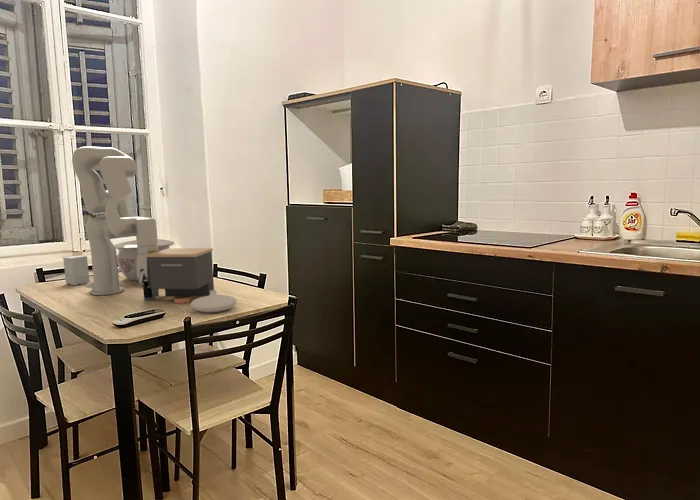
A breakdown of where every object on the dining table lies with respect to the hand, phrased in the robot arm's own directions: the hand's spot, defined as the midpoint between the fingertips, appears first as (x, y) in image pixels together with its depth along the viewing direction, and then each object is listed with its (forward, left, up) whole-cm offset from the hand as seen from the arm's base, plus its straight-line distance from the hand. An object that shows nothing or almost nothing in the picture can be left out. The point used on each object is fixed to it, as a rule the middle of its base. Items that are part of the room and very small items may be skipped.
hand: (151, 295), depth 195 cm
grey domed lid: (+32, -15, -2) cm, 35 cm away
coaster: (+15, -4, -2) cm, 16 cm away
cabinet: (+14, -1, -1) cm, 14 cm away
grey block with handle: (+10, 0, -1) cm, 10 cm away
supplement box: (-52, +28, -2) cm, 59 cm away
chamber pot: (-25, +41, -1) cm, 48 cm away
